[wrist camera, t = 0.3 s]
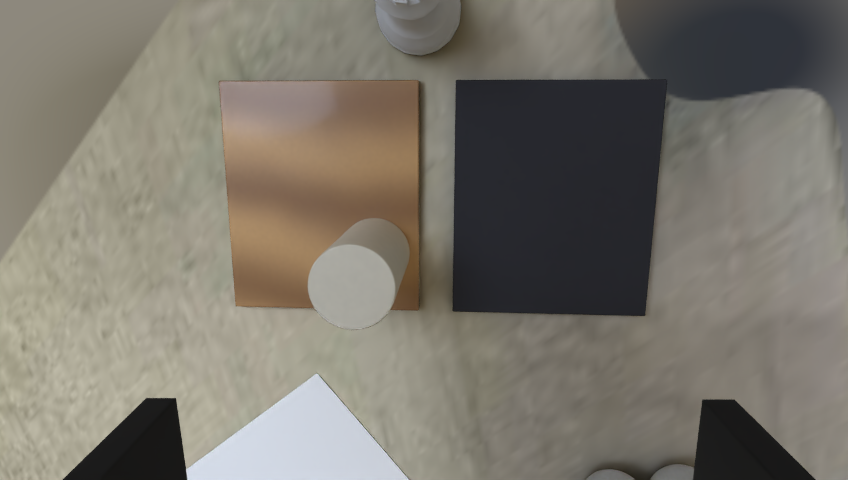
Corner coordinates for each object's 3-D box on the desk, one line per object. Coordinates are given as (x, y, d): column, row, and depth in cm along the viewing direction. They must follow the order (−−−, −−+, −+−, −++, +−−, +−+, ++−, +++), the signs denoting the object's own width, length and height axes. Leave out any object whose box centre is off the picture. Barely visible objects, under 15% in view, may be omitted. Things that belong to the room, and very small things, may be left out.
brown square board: (223, 81, 30) (218, 80, 29) (419, 80, 29) (418, 80, 28) (239, 303, 32) (235, 306, 32) (419, 307, 32) (418, 310, 31)
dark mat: (455, 80, 29) (455, 80, 28) (663, 80, 28) (667, 79, 28) (452, 308, 31) (452, 311, 31) (641, 312, 31) (645, 316, 30)
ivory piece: (339, 217, 30) (305, 243, 23) (409, 218, 30) (395, 245, 23) (341, 284, 31) (309, 329, 24) (410, 286, 31) (396, 331, 24)
